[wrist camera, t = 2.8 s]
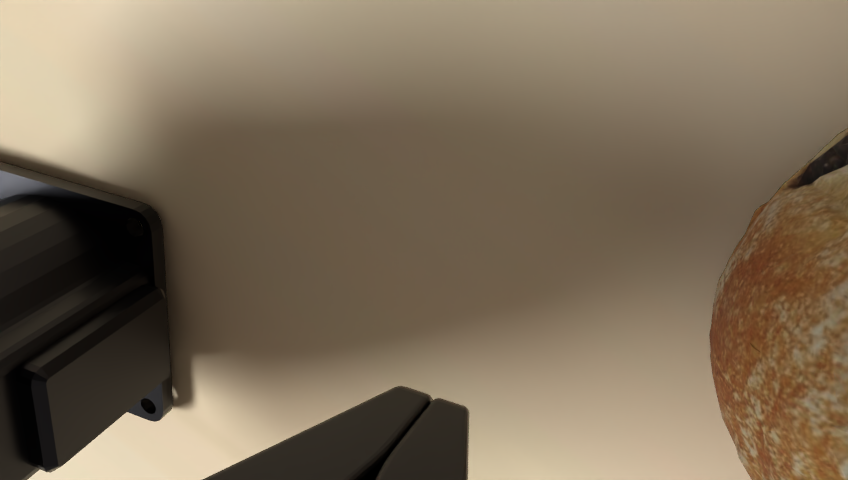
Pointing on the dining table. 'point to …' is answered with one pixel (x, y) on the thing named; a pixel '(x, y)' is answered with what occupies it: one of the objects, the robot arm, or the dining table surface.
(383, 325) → the dining table surface
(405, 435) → the robot arm
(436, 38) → the dining table surface
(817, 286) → the bread roll
